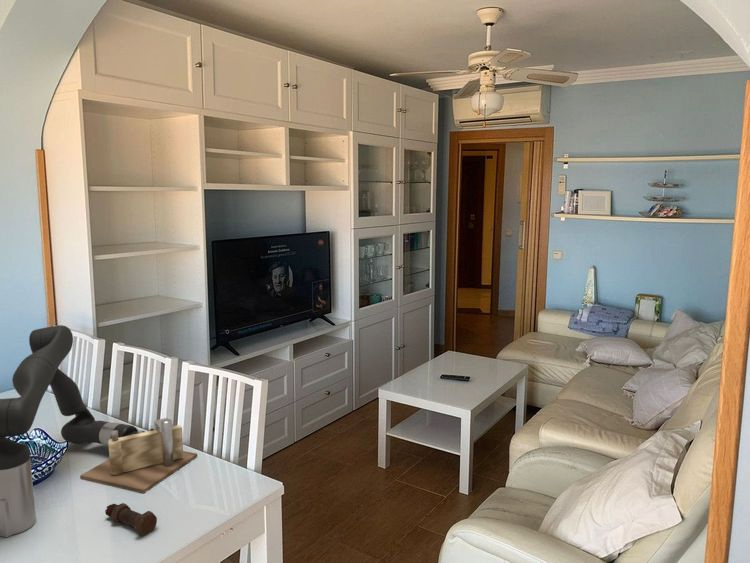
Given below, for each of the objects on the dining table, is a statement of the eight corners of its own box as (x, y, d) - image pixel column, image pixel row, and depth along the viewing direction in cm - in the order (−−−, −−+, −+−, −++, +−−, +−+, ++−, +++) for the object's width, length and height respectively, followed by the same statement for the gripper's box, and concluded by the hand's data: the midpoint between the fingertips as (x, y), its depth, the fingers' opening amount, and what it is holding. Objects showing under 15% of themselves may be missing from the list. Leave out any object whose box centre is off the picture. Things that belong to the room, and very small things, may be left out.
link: (111, 476, 170) (109, 443, 168) (109, 471, 173) (107, 439, 171) (184, 458, 181) (182, 428, 179) (180, 454, 184) (179, 424, 182)
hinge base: (143, 493, 163) (140, 446, 161) (80, 478, 171) (76, 433, 168) (197, 456, 185) (195, 414, 183) (139, 444, 193) (136, 404, 191)
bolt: (113, 521, 153) (152, 537, 145) (97, 520, 149) (136, 536, 141) (121, 498, 155) (160, 512, 147) (106, 496, 151) (144, 511, 143)
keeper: (163, 468, 175) (160, 424, 173) (156, 458, 182) (153, 415, 179) (176, 464, 178) (174, 421, 175) (169, 454, 184) (167, 412, 182)
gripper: (101, 432, 179) (147, 441, 173) (132, 416, 191) (176, 424, 186) (103, 455, 180) (148, 465, 175) (134, 438, 193) (177, 447, 187)
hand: (162, 444), depth 180 cm, fingers closed
